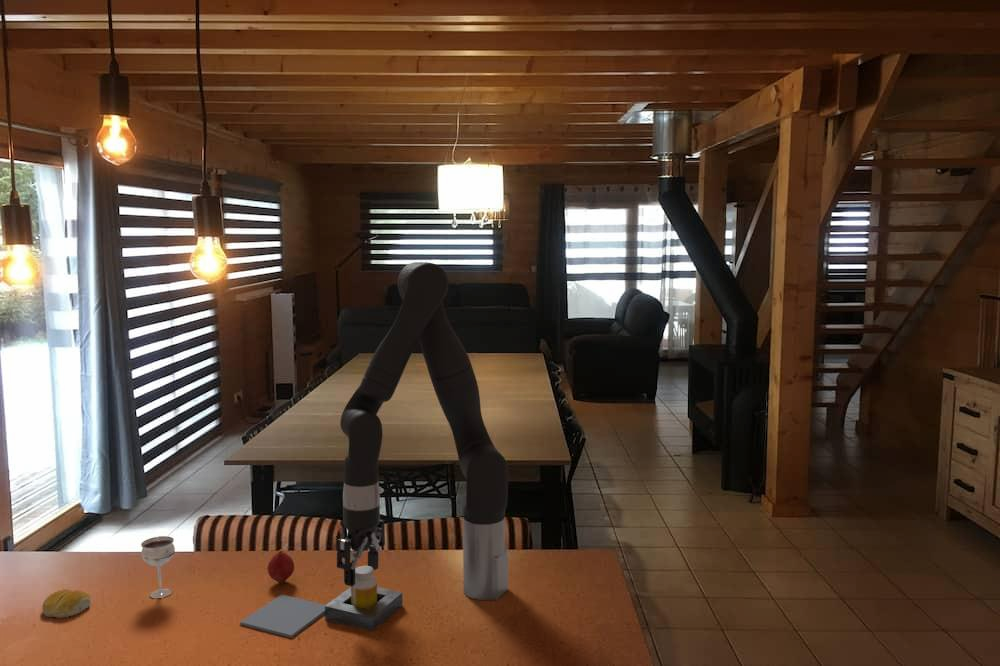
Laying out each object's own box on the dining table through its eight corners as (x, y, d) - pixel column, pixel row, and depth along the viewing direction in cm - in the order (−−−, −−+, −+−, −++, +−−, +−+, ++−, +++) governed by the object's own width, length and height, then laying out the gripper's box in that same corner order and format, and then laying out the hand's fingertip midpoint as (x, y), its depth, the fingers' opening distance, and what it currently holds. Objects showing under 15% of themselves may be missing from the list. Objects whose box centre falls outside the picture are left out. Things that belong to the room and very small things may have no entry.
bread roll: (63, 598, 171) (61, 581, 171) (97, 603, 169) (96, 586, 169) (32, 617, 164) (30, 598, 163) (67, 622, 161) (66, 604, 161)
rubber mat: (330, 608, 167) (330, 606, 166) (291, 638, 155) (291, 635, 155) (281, 597, 172) (281, 594, 172) (240, 624, 160) (240, 621, 160)
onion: (263, 583, 178) (261, 549, 177) (285, 574, 183) (284, 542, 181) (277, 591, 174) (275, 557, 173) (299, 582, 179) (298, 549, 177)
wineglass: (137, 598, 171) (133, 545, 170) (160, 584, 178) (157, 534, 176) (161, 603, 169) (158, 550, 167) (184, 589, 175) (181, 538, 174)
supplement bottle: (346, 612, 165) (345, 569, 163) (366, 603, 169) (365, 561, 167) (362, 621, 161) (361, 577, 160) (382, 612, 165) (381, 569, 164)
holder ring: (402, 605, 168) (402, 592, 167) (372, 631, 157) (372, 617, 157) (356, 595, 173) (356, 582, 172) (325, 619, 162) (324, 605, 162)
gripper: (356, 516, 154) (357, 594, 156) (395, 494, 167) (395, 567, 169) (325, 510, 157) (326, 587, 159) (365, 489, 170) (365, 560, 172)
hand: (361, 576), depth 164 cm, fingers open, 8 cm apart
